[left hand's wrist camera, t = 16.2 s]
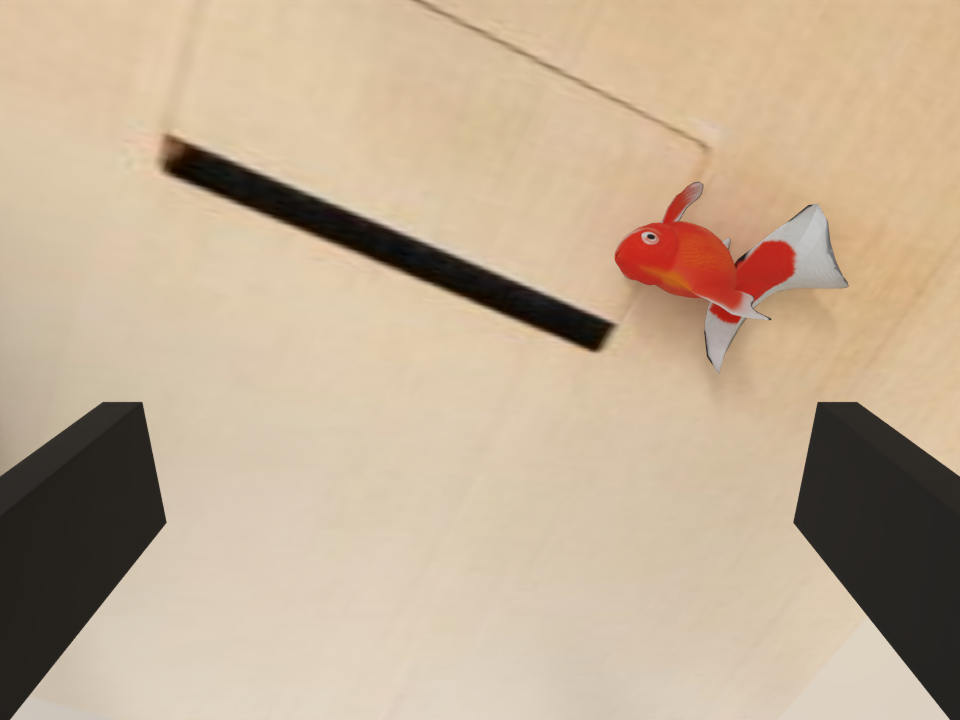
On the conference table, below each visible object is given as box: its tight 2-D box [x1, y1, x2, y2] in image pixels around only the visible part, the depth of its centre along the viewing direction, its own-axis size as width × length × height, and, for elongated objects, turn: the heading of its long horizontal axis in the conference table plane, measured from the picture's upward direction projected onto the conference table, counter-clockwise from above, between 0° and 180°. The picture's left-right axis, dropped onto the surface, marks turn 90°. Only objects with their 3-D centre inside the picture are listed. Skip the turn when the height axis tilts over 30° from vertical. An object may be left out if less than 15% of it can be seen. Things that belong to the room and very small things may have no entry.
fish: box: [615, 182, 849, 373], centre depth 39 cm, size 11×16×10 cm
